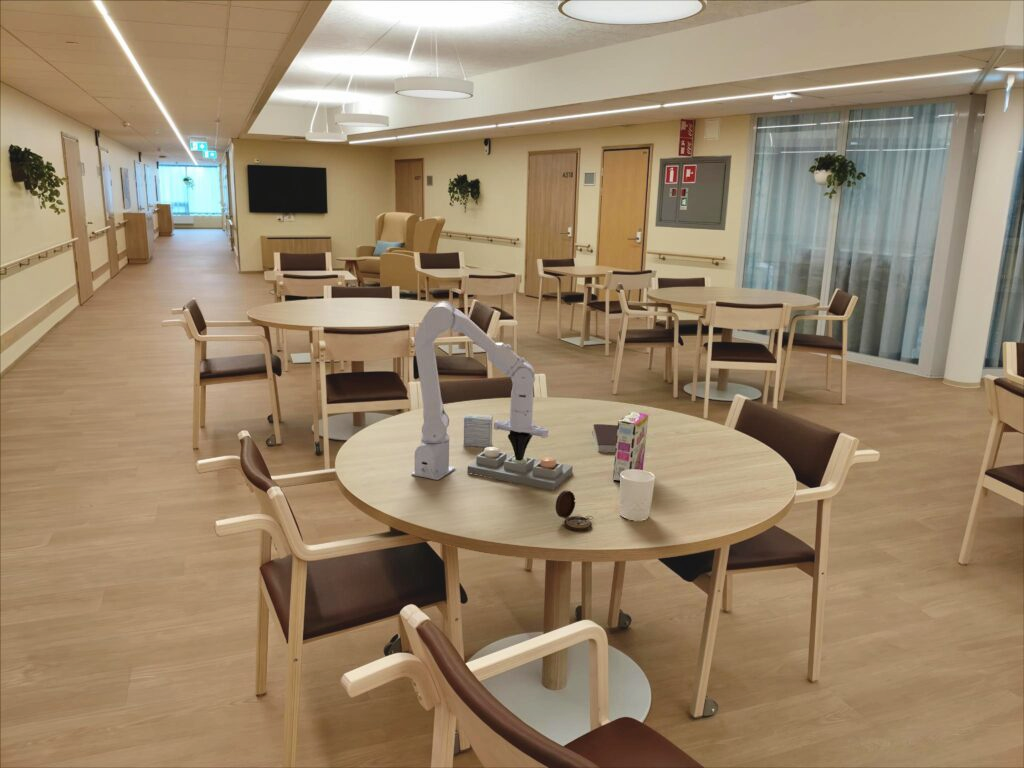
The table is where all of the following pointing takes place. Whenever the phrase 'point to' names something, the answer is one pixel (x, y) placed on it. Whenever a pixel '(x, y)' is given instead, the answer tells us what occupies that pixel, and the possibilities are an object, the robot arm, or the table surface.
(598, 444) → the book
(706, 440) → the table surface
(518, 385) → the robot arm
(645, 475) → the white cup
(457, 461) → the table surface
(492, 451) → the off-white button
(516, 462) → the sage green button
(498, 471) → the button board
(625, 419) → the candy bar box
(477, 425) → the medicine box
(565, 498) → the compass
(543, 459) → the terracotta button
